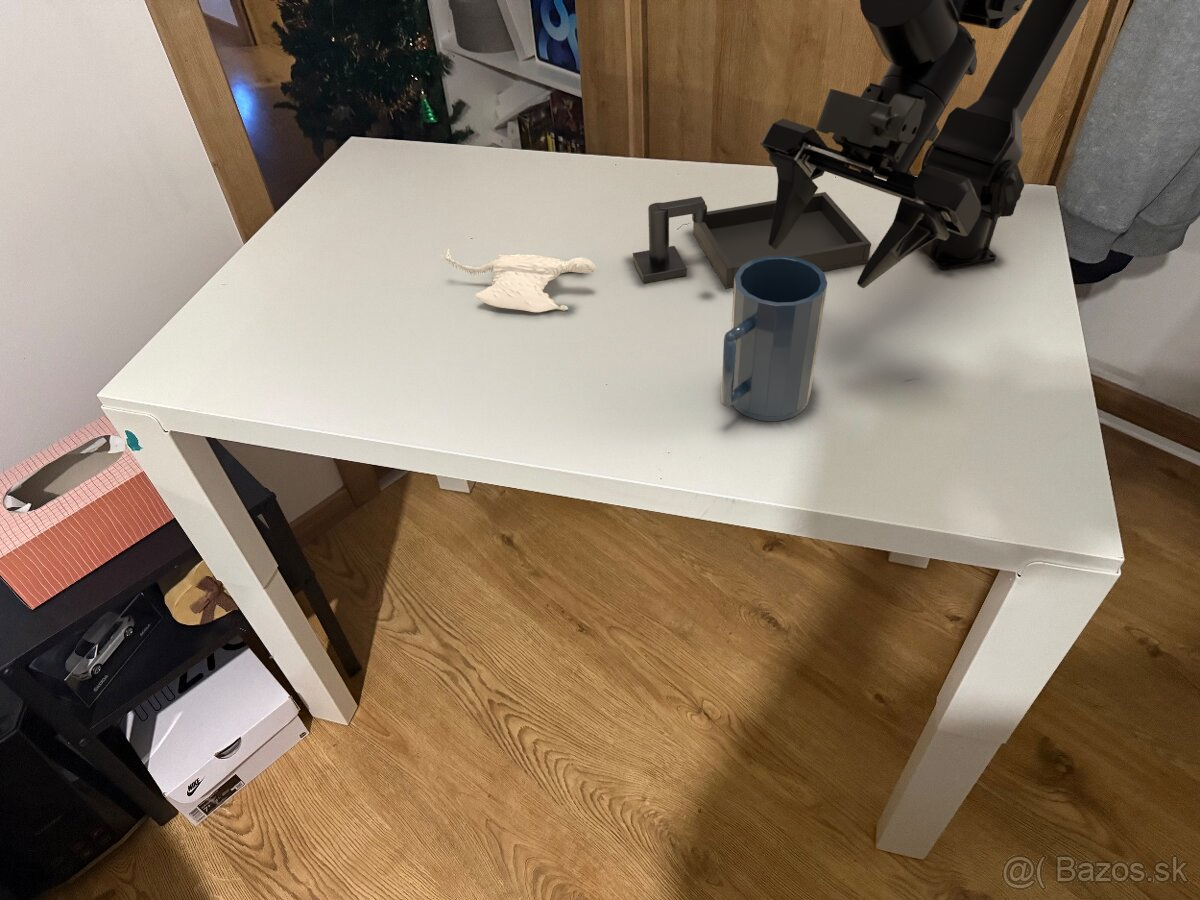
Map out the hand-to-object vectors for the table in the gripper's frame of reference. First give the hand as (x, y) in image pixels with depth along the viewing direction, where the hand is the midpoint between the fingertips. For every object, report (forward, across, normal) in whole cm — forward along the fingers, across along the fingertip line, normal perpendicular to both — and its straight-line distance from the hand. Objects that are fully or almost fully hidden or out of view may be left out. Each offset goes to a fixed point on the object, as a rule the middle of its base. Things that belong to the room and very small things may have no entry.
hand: (814, 266), depth 70 cm
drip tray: (-3, -15, +20) cm, 25 cm away
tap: (+4, -22, +12) cm, 25 cm away
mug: (+13, 0, +4) cm, 13 cm away
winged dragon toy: (+15, -32, +2) cm, 35 cm away
